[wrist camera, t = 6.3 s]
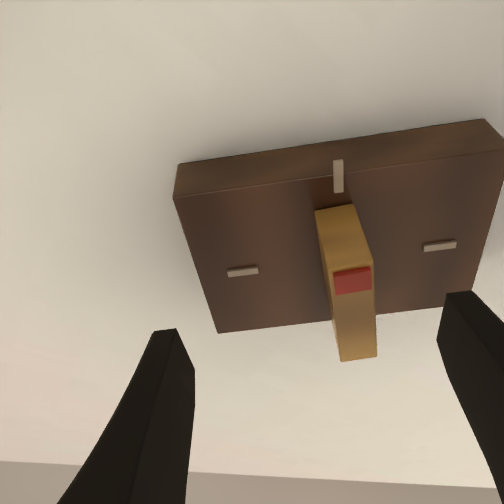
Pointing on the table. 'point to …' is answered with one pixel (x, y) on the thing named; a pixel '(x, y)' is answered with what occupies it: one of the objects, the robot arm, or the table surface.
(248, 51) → the table surface
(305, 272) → the plate
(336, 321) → the thumb turn
